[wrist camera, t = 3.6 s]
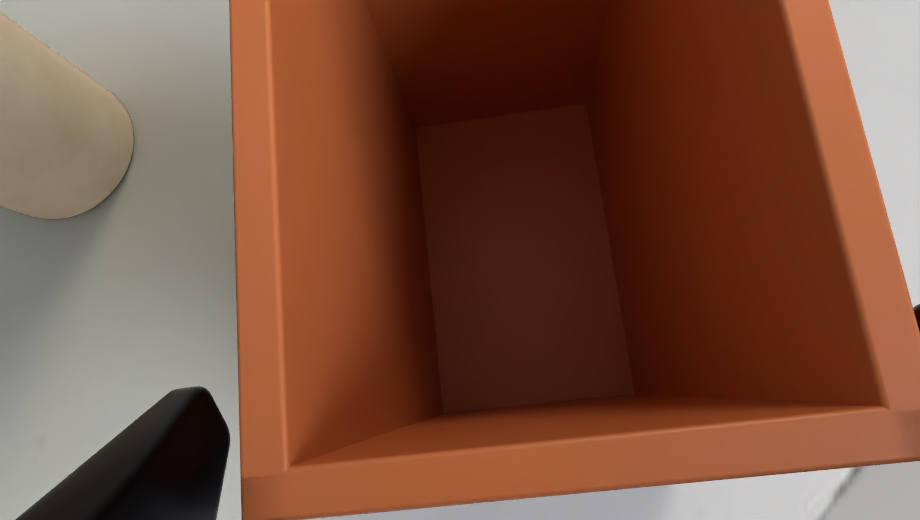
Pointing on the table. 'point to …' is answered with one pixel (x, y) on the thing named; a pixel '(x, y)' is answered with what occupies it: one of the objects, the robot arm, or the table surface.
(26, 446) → the table surface
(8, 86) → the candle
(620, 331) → the orange bin
